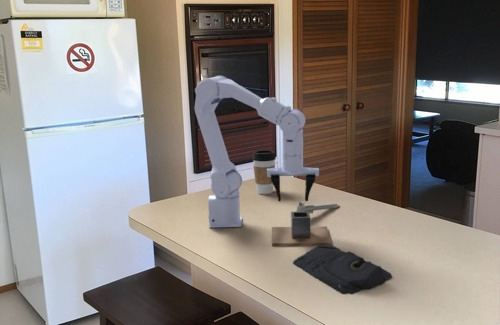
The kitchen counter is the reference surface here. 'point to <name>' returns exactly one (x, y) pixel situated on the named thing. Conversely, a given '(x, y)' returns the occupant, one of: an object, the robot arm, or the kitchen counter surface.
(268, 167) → the coffee cup
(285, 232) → the post base
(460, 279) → the kitchen counter surface
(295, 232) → the steel collar
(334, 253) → the dark slate chunk
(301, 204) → the caliper
